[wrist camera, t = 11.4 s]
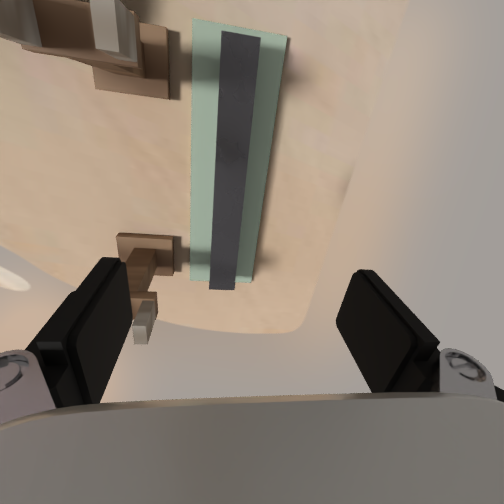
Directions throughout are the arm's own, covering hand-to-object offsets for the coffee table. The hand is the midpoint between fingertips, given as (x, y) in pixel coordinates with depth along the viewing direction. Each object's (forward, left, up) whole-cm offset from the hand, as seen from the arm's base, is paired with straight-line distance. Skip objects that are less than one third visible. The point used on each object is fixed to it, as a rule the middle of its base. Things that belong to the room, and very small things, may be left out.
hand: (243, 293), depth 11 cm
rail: (0, 0, -19) cm, 19 cm away
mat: (0, 0, -20) cm, 20 cm away
